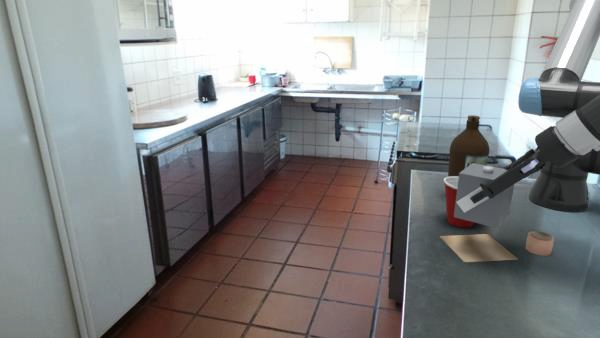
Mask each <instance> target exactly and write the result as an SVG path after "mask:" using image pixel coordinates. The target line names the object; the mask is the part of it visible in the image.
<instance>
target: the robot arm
mask: <svg viewBox="0 0 600 338" xmlns="http://www.w3.org/2000/svg"><path fill="white" fill-rule="evenodd" d="M569 11H570V12H569V14H568V16H567V18H566V20H565V23H564V24H563V26H562V28H561V31H560V33H559V35H558V37H557V40H556V41H555V44H554V46H553V47H552V50H551V52H550V54H549V57H548V59H547V61H546V62H545V65H544V67H543V70H542V71H541V74H540V76H539V77H534V78H532V77H531V78H530V77H529V78H526V79H525V80H524V81H523V83H522V84H521V87H520V90H519V94H518V101H517V102H518V103H517V104H518V108H519V111H521V113H524V114H528V115H534V116H539V117H551V118H561V119H559V120H557V121H556V122H555V124H554V125H553V126H552V125H550V126H549V127H547V128H546V129H544V130H543V131H541V132H540V133H537V135H536V136H535V137H534V141H535V144H536V148H535V149H533V148H531V149H529V150H527V151H526V152H525V153H524V154H523V155H521V156H519V158H517V159H516V160H515V161H513V162H512V163H510V164H508V165H507V166H504V167H502V168H503V169H506V170H508V171H506V172H505V173H503V174H502V175H500V176H499V177H497V178H496V179H494V180H493V181H491V182H489V183H488V184H486V185H483V183H481V184H480V186H481V187H480V188H478V189H476V190H475V191H473V192H471V193H470V194H468V195H467V196H465V197H463V198H462V199H460V200H458V201H457V202H456V203H457V204H458V205H459V207H460V208H461V209H462V210H463V212H464V213H465V212H466V211H468V210H470V209H472V208H473V207H475V206H477V205H478V204H480V203H482V202H484V201H485V200H487V199H489V198H490V199H491V198H494V196H496V195H497V194H499V193H501V192H502V191H504V190H506V189H507V188H509V187H510V186H512V185H514V186H515V184H517V183H518V182H520V181H522V180H523V179H526V178H527V177H529V176H532V175H533V174H535V173H538V172H539V174H538V177H537V178H536V179H535V181H534V183H533V185H532V187H530V189H529V194H528V199H529V200H530V201H531V202H533V203H535V204H536V205H538V206H540V207H545V208H548V209H551V210H554V211H555V210H557V211H564V212H573V213H574V212H575V213H576V212H577V213H578V212H584V211H586V210H587V209H589V205H590V201H591V200H590V197H589V189H588V188H589V187H588V181H587V180H588V176H589V174H593V175H599V176H600V82H598V81H597V82H595V81H582V80H583V77H584V75H585V72H586V69H587V68H588V65H589V62H590V61H591V57H592V56H593V53H594V51H595V48H596V46H597V43H598V41H599V38H600V0H570V2H569Z"/></svg>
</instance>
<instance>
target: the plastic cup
mask: <svg viewBox="0 0 600 338" xmlns="http://www.w3.org/2000/svg"><path fill="white" fill-rule="evenodd" d="M458 179H459V177H458V176H450V177H448V176H446V177H444V179H443V183H444V188H445V191H444V193H445V205H446V207H445V208H446V211H445V212H446V219H447V220H446V221H447V223H448V224H450V225H451V226H454V227H459V228H471V227H472V226H474V224H475V222H471V221H467V220H464V219H460V218H456V217H454V211H455V203H456V195H457V187H458Z"/></svg>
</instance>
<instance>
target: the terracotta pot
mask: <svg viewBox="0 0 600 338" xmlns="http://www.w3.org/2000/svg"><path fill="white" fill-rule="evenodd" d="M554 241H555V238H554V236H553V235H551V234H548V233H546V232H543V231H538V230H534V231H529V232H528V233H527V238H526V243H525V250H526V251H527V252H528V253H531V254H534V255H538V256H547V257H548V256H550V255H552V251H553V248H554V247H553V246H554V243H555V242H554Z"/></svg>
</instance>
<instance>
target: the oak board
mask: <svg viewBox="0 0 600 338" xmlns="http://www.w3.org/2000/svg"><path fill="white" fill-rule="evenodd" d="M439 238H440V239H441V240H442V241H443V242H444V243H445V244H446V245H447V246H448V247H449V248H450V249H451V250H452V251H453V252H454V253H455V254H456V255H457V256H458V257H459V258H460V259H461V261H462V262H463V263H479V262H481V263H482V262H493V261H494V262H498V261H499V262H500V261H517V260H518V261H519V258H517V257H516V256H515V255H514V254H513V253H511V251H509V250H508V249H507V248H506V247H504V246H503V245H502V244H500V243H499V242H498V241H497V240H495V239H494V238H492V236H491V235H490V234H488V233H477V234H460V235H459V234H457V235H456V234H455V235H439Z"/></svg>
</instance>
